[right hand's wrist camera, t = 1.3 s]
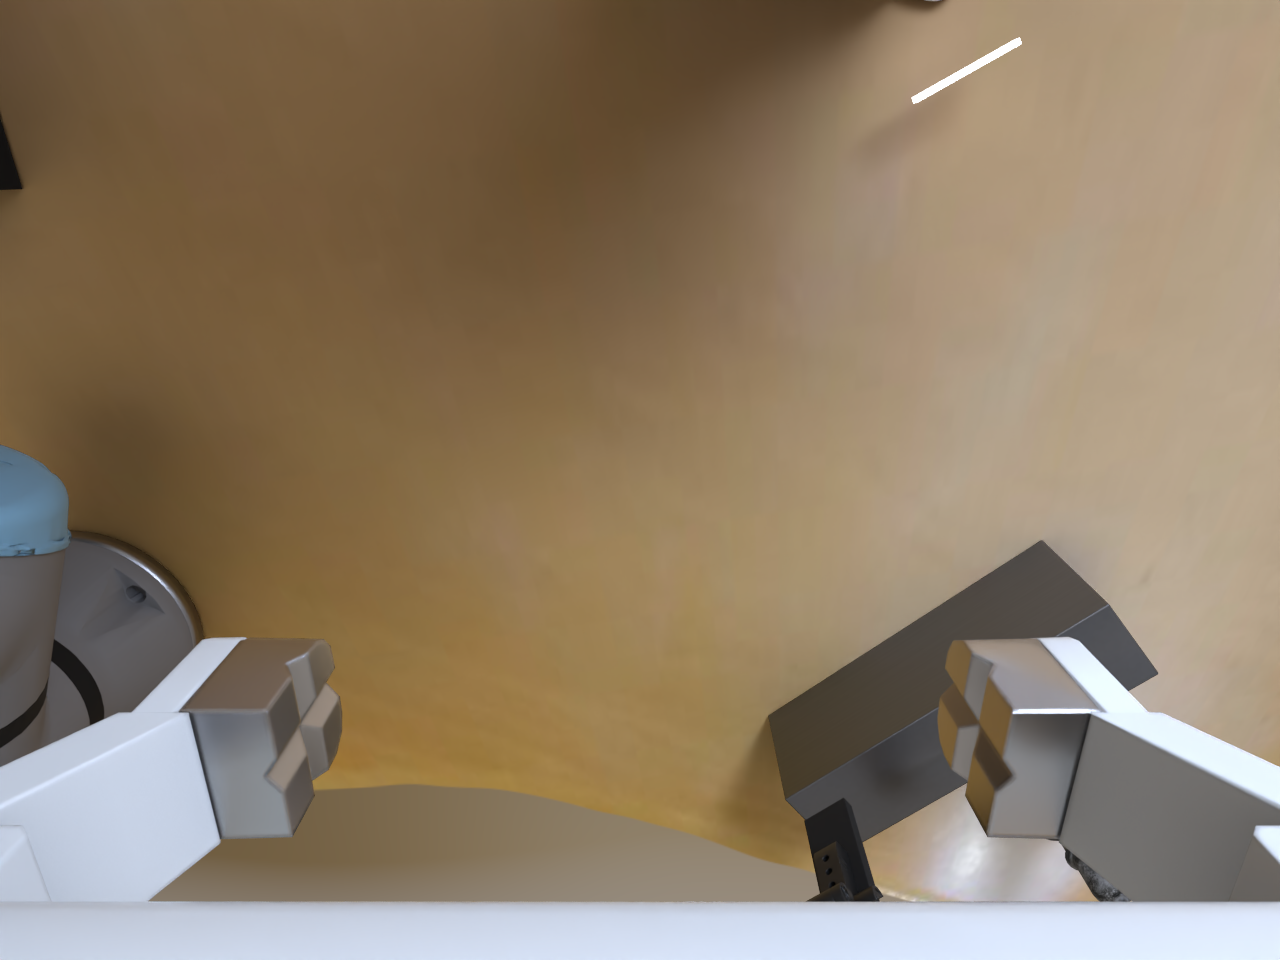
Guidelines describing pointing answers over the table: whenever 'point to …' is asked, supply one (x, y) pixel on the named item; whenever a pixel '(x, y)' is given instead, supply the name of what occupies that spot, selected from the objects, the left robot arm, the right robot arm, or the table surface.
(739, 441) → the table surface
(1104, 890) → the dark grey chess piece
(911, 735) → the box
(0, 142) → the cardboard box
